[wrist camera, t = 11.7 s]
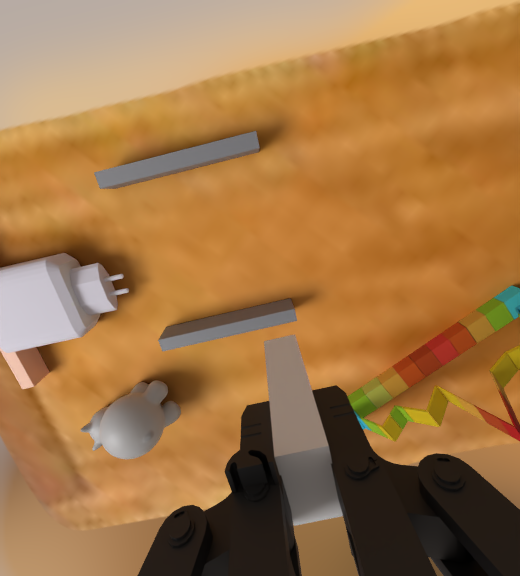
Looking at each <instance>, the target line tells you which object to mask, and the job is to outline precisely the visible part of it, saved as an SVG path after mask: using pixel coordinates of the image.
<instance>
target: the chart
mask: <svg viewBox="0 0 520 576" xmlns="http://www.w3.org/2000/svg"><path fill="white" fill-rule="evenodd" d="M518 317H519V318H520V288H517V287H515V286H510V287H509V288H507V289H506V290H504V291H503V292H501V293H500V294H498V295H497V296H496V297H494V298H493V299H491V300H490V301H488V302H487V303H485V304H484V305H482V306H481V307H479V308H478V309H476V310H475V311H473V312H472V313H470V314H469V315H467V316H466V317H464V318H463V319H462V320H460V321H459V323H458V322H457V323H456V324H454V325H453V326H451V327H450V328H448V329H447V330H445V331H444V332H442V333H441V334H439V335H438V336H436V337H435V338H433V339H432V340H431V341H429V342H428V343H426V344H425V345H423V346H422V347H420V348H419V349H417V350H416V351H414V352H413V353H411V354H410V355H408V356H407V357H405V358H404V359H402V360H401V361H399V362H398V363H397V364H395V365H394V366H392V367H391V368H389V369H388V370H386V371H385V372H383V373H382V374H380V375H379V376H377V377H376V378H374V379H373V380H371V381H370V382H368V383H367V384H366V385H364V386H363V387H361V388H360V389H358V390H357V391H355V392H354V393H352V394H351V395H349V396H348V399H349V401H350V404H351V406H352V408H353V410H354V412H355V414H356V416H357V418H358V421H359V423H360V425H361V427H362V429H365V428H366V429H368V430H371V431H373V432H375V433H377V434H379V435H382V436H384V437H386V438H389V439H390V440H393V441H396V440H397V439H398V437H399V435H400V434H401V432H402V429H403V428H404V427H405V425H406V423H407V420H408V421H411V422H416V423H421V424H426V425H432V426H437V427H439V426H441V423H442V420H443V417H444V413H445V410H446V407H447V404H448V401H449V402H451V403H453V404H454V405H456V406H458V407H460V408H462V409H463V410H465V411H467V412H469V413H470V414H472V415H474V416H476V417H478V418H479V419H481V420H483V421H485V422H487V423H488V424H490V425H492V426H494V427H495V428H497V429H499V430H501V431H503V432H504V433H506V434H508V435H510V436H512V437H513V438H515V439H517V440H519V441H520V424H519V422H518V420H517V418H516V416H515V413H514V411H513V409H512V407H511V405H510V402H509V400H508V398H507V396H506V394H505V391H504V389H503V388H504V387H505V386H506V384H507V383H508V382H509V381H510V380H511V378H512V377H513V376H514V375H515V374H516V372H517V371H518V370H520V345H519V346H517V347H515V348H513V349H510V350H508V351H506V353H505V352H504V354H503V355H502V356H501V357H500V358H499V360H498V361H497V362H496V363H495V364H494V366H493V367H492V368H491V369H490V373H491V375H492V377H493V379H494V382H495V384H496V386H497V389H498V391H499V393H500V395H501V398H502V400H503V402H504V405H505V407H506V409H507V411H508V414H509V416H510V418H511V421H512V423H513V425H514V426H513V425H511V424H509V423H507V422H505V421H503V420H501V419H500V418H498V417H496V416H494V415H492V414H490V413H488V412H486V411H484V410H482V409H481V408H479V407H477V406H475V405H473V404H471V403H469V402H467V401H465V400H464V399H462V398H460V397H458V396H456V395H453V394H452V393H450V392H449V391H447V390H445V389H443V388H441V387H439V386H437V385H436V386H437V387H438V388H439V389H438V388H437V387H436V386H435V387H434V390H433V393H432V396H431V398H430V401H429V404H428V407H427V411H428V412H429V413H430V414H429V413H428V412H427V411H426V410H423V409H416V408H409V407H403V406H394V408H393V409H392V411H391V413H390V415H391V416H392V417H393V418H392V417H391V416H390V415H389V416H388V418H387V419H386V421H385V423H384V424H383V426H381V425H379V424H376V423H374V422H371V421H369V420H367V419H364V417H365V416H367V415H368V414H370V413H371V412H373V411H375V410H376V409H378V408H379V407H381V406H382V405H384V404H385V403H387V402H388V401H390V400H391V399H393V398H394V397H396V396H398V395H399V394H401V393H402V392H404V391H405V390H407V389H408V388H410V387H411V386H413V385H414V384H416V383H417V382H419V381H420V380H422V379H424V378H425V377H427V376H428V375H430V374H431V373H433V372H434V371H436V370H437V369H439V368H440V367H442V366H443V365H445V364H447V363H448V362H450V361H451V360H453V359H454V358H456V357H457V356H459V355H460V354H462V353H463V352H465V351H466V350H468V349H469V348H471V347H473V346H474V345H476V344H477V343H479V342H480V341H482V340H483V339H485V338H486V337H488V336H489V335H491V334H492V333H494V332H495V331H497V330H499V329H500V328H502V327H503V326H505V325H507V324H508V323H510V322H511V321H513V320H514V319H516V318H518ZM410 358H411V359H410ZM517 369H518V370H517ZM424 375H425V376H424ZM440 391H441V392H442V393H441V392H440ZM443 395H444V396H445V397H444V396H443ZM392 397H393V398H392ZM446 399H447V400H448V401H447V400H446ZM402 407H403V408H402ZM398 409H399V410H400V411H399V410H398ZM407 413H408V414H407ZM430 415H431V416H432V417H433V418H434V419H433V418H432V417H431V416H430ZM404 416H405V417H406V418H405V417H404ZM412 419H413V420H412ZM434 420H435V421H436V422H437V423H438V424H437V423H436V422H435V421H434ZM396 422H397V423H398V424H399V425H398V424H397V423H396ZM438 425H439V426H438ZM383 427H384V428H383ZM401 428H402V429H401Z"/></svg>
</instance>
